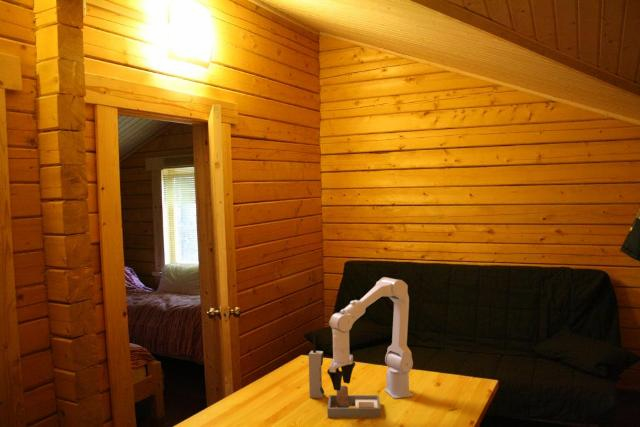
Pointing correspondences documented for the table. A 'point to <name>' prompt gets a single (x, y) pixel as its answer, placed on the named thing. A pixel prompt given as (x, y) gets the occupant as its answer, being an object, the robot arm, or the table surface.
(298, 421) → the table surface
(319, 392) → the vintage mobile phone
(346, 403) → the walnut peg
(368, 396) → the grey tray
